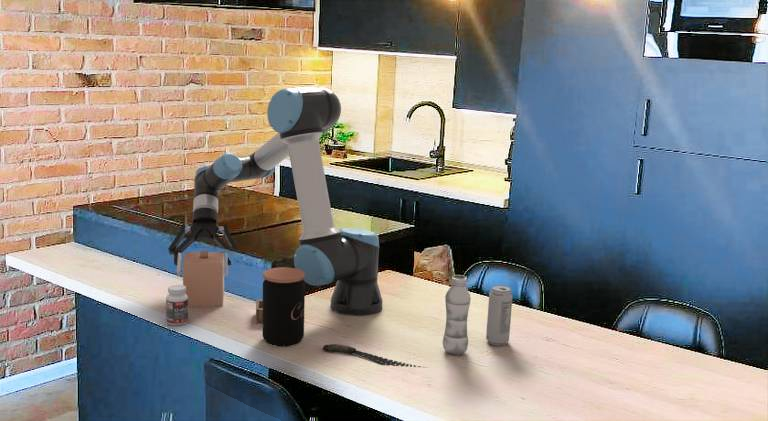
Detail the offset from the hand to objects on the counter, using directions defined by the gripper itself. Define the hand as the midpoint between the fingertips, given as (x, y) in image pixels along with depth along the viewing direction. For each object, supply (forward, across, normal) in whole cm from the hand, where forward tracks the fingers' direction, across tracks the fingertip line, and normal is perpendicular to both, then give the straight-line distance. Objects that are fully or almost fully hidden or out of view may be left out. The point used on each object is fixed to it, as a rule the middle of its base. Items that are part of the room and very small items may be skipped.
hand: (202, 274), depth 234 cm
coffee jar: (+29, -23, +18) cm, 41 cm away
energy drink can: (+32, -79, +21) cm, 88 cm away
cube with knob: (+6, -1, -4) cm, 8 cm away
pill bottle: (+19, +5, +8) cm, 21 cm away
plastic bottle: (+36, -66, +26) cm, 79 cm away
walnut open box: (+17, -21, +7) cm, 28 cm away
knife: (+39, -44, +28) cm, 65 cm away
